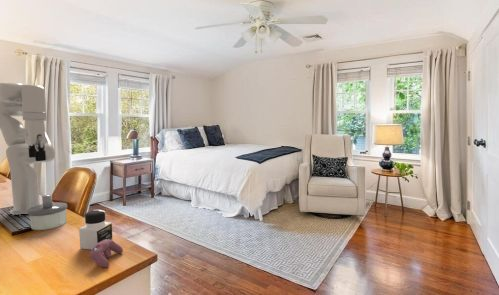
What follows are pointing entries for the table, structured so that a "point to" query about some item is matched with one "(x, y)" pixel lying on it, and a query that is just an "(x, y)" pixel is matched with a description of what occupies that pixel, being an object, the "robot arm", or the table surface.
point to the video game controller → (104, 252)
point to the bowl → (48, 221)
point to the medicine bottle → (94, 229)
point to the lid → (47, 207)
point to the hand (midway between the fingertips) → (37, 158)
